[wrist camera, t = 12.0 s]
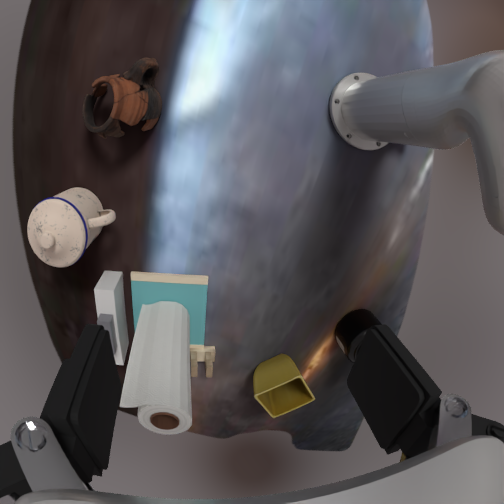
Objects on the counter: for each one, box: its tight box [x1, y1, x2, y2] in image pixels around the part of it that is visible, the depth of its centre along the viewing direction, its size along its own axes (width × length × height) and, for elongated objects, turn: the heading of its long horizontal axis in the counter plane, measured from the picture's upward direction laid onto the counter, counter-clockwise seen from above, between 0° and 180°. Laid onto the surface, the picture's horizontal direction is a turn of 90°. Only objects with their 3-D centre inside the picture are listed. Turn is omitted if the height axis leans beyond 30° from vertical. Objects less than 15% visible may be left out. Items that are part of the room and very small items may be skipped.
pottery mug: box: [82, 58, 162, 139], centre depth 32 cm, size 12×10×8 cm
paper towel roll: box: [120, 301, 192, 435], centre depth 36 cm, size 7×6×21 cm
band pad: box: [131, 271, 208, 349], centre depth 47 cm, size 12×14×1 cm
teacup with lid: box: [28, 188, 116, 267], centre depth 33 cm, size 12×9×12 cm
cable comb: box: [190, 346, 215, 377], centre depth 48 cm, size 10×2×6 cm, turn 83°
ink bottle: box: [335, 309, 382, 363], centre depth 50 cm, size 10×9×12 cm
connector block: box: [94, 271, 129, 365], centre depth 41 cm, size 3×14×8 cm, turn 172°
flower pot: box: [253, 354, 315, 418], centre depth 51 cm, size 9×9×9 cm
